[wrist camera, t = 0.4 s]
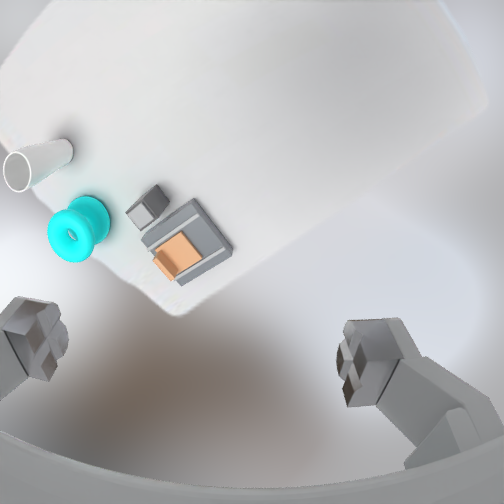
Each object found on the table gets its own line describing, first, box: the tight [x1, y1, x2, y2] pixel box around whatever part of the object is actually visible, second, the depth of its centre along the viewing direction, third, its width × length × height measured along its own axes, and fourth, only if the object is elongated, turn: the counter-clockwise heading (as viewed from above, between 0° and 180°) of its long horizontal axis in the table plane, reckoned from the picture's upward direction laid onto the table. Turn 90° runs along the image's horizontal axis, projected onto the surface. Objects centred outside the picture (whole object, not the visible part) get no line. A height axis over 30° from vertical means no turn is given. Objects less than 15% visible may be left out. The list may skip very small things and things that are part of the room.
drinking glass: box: [3, 139, 73, 192], centre depth 42 cm, size 7×7×15 cm
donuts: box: [47, 196, 110, 262], centre depth 51 cm, size 10×10×10 cm
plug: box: [125, 184, 170, 231], centre depth 50 cm, size 4×4×9 cm
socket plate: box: [141, 198, 233, 286], centre depth 56 cm, size 12×12×4 cm
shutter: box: [153, 231, 203, 281], centre depth 54 cm, size 6×6×4 cm
